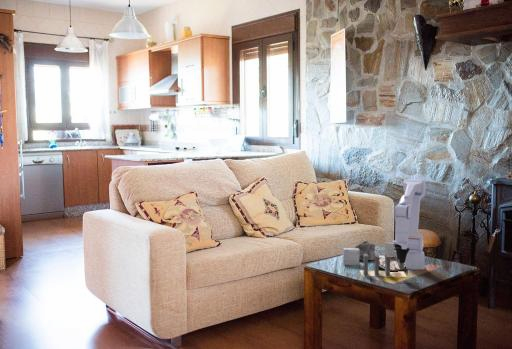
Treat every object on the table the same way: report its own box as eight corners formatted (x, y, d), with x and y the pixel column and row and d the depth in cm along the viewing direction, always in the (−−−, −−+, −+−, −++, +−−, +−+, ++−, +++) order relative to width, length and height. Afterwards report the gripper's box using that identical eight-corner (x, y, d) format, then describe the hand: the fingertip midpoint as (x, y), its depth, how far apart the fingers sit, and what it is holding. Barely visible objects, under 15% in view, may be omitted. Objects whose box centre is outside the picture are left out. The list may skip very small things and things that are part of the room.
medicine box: (358, 265, 265) (358, 248, 264) (359, 267, 261) (359, 250, 260) (342, 264, 266) (342, 247, 265) (343, 267, 262) (343, 249, 261)
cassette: (408, 258, 278) (408, 244, 277) (407, 259, 276) (407, 245, 275) (385, 256, 283) (385, 242, 282) (384, 257, 281) (384, 242, 281)
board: (403, 273, 250) (403, 271, 250) (407, 279, 241) (407, 277, 241) (359, 272, 252) (359, 270, 252) (361, 277, 243) (361, 275, 243)
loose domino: (401, 266, 240) (402, 246, 239) (403, 269, 235) (404, 249, 234) (398, 266, 240) (398, 246, 239) (399, 269, 235) (400, 249, 234)
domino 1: (377, 272, 248) (377, 254, 247) (378, 275, 243) (379, 256, 242) (373, 272, 248) (374, 253, 247) (375, 275, 243) (375, 256, 242)
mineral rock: (348, 260, 273) (348, 241, 272) (352, 256, 283) (353, 237, 282) (373, 263, 268) (373, 244, 267) (376, 258, 278) (377, 239, 277)
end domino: (366, 272, 248) (367, 253, 247) (367, 275, 243) (368, 256, 242) (363, 272, 248) (363, 253, 247) (364, 275, 243) (364, 256, 243)
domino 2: (388, 273, 247) (388, 254, 246) (389, 276, 242) (390, 256, 241) (384, 273, 247) (385, 254, 246) (386, 276, 242) (386, 256, 241)
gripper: (390, 228, 243) (389, 256, 245) (395, 234, 229) (394, 265, 230) (406, 228, 242) (405, 257, 244) (411, 235, 228) (411, 265, 229)
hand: (401, 261), depth 237 cm, fingers closed on loose domino, 5 cm apart
